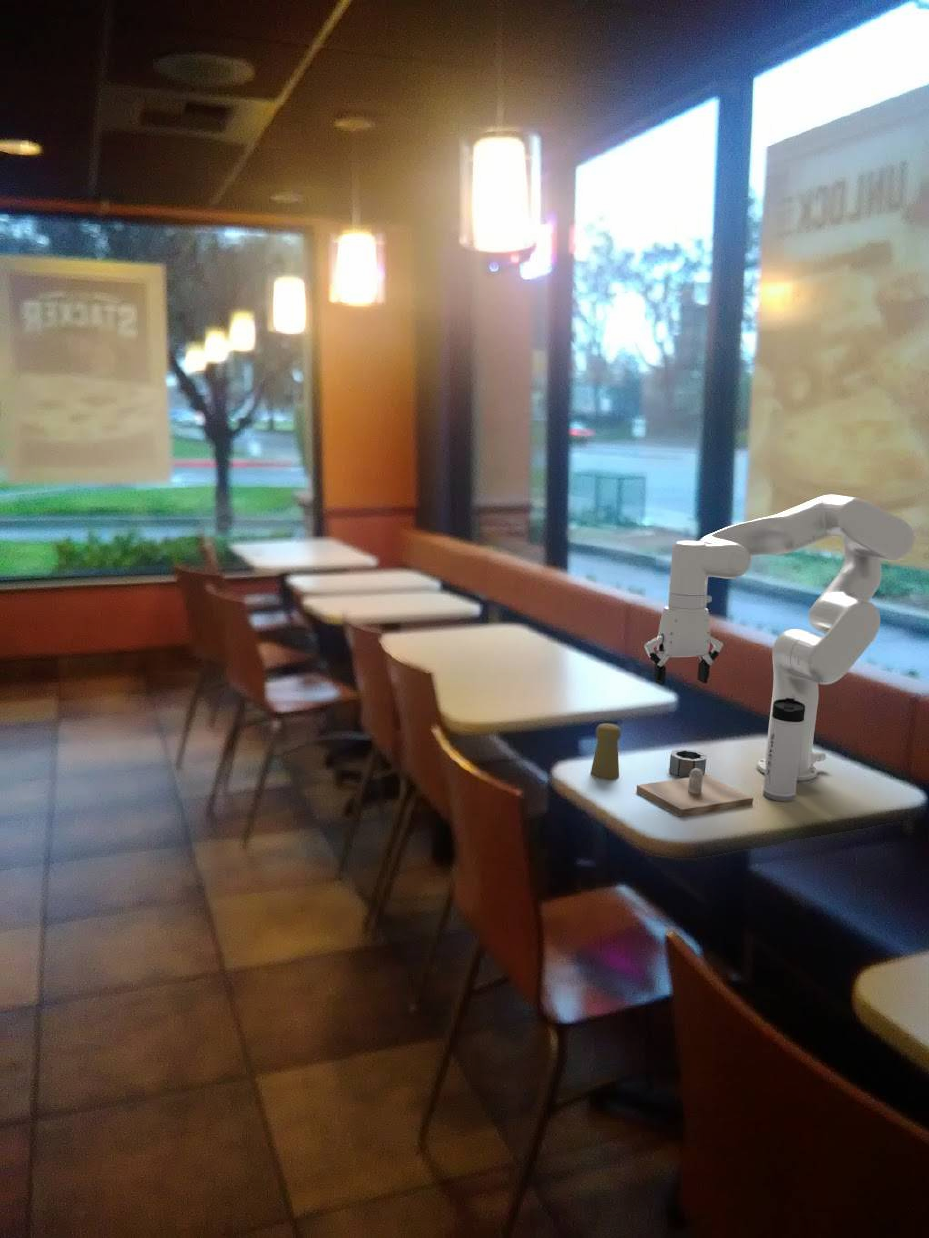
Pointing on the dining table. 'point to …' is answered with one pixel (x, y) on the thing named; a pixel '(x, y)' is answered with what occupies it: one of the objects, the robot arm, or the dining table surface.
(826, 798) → the dining table surface
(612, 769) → the cork
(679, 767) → the steel ring
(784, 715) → the travel mug
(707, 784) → the board
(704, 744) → the dining table surface
